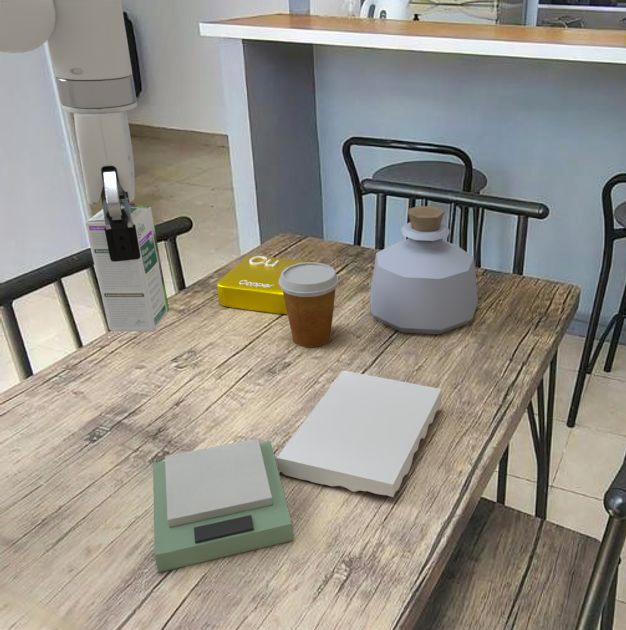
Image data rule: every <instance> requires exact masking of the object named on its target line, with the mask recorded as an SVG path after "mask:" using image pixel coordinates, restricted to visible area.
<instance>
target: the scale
mask: <svg viewBox="0 0 626 630" xmlns="http://www.w3.org/2000/svg"><path fill="white" fill-rule="evenodd" d="M152 483H153V484H152V487H153V488H152V489H153V493H152V494H153V546H154V547H153V550H154V551H153V552H154V559H155V560H154V561H155V564H156V568H157V573H162V572H166V571H170V570H175V569H178V568H182V567H187V566H192V565H195V564H196V565H197V564H199V563H200V564H201V563H204V562H209V561H212V560H217V559H222V558H225V557H229V556H234V555H237V554H242V553H246V552H250V551H255V550H259V549H263V548H267V547H271V546H275V545H281V544H284V543H288V542H293V541H294V530H293V522H292V519H291V515H290V511H289V507H288V503H287V498H286V495H285V492H284V487H283V483H282V480H281V475H280V471H279V470H278V464H277V459H276V457H275V453H274V449H273V445H272V441H271V440H267V441H263V442H260V439H259V438H254V439H249V440H243V441H237V442H232V443H227V444H222V445H217V446H211V447H207V448H206V447H205V448H201V449H196V450H191V451H184V452H179V453H173V454H169V455H165V456H164V460H161V461H158V462H153V463H152Z"/></svg>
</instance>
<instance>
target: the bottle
mask: <svg viewBox="0 0 626 630" xmlns="http://www.w3.org/2000/svg"><path fill="white" fill-rule="evenodd" d="M445 212H446V210H443V209H441V208H439V207H436V206H434V205H433V206H432V205H430V206H428V205H421V206H420V205H416V206H413V207H410V208H408V211H407V216H408V218H409V222H407V223H405V224H404V225H403V226H402V227H401V228H400V230H401V236H402V237H406V238H407V239H403V240H400V241H397V242H395V243H392V244H390V245H389V246H387V247H385V248H383V249H381V250H379V251H377V252H375V258H374V265H373V272H372V276H371V277H372V278H371V284H370V289H369V290H370V291H369V295H368V296H369V304H370V311H371V315H372V316H373V318H375V319H376V320H377V321H378V322H379V323H382V324H384V325H385V326H388V327H390V328H392V329H394V330H396V331H398V332H400V333H402V334H421V335H441V334H444V333H447V332H449V331H452V330H455V329H457V328H460V327H463V326H466V325H467V324H469V322H471V321H472V320H473V317H474V315H475V312H476V309H477V306H478V304H479V296H478V286H477V285H478V284H477V275H476V265H475V256H473V255H471V253H469V252H467V251H465V249H463V248H462V247H460V246H459V245H457V244H454V243H451V242H450V241H446V240H444V239H446V238H448V237H449V235H450V233H451V230H450V229H449V227H448V226H447V225H445V224H444V223H442V221H443V218H444V215H445Z"/></svg>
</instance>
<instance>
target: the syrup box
mask: <svg viewBox="0 0 626 630" xmlns="http://www.w3.org/2000/svg"><path fill="white" fill-rule="evenodd" d="M121 209H124V210H125V206H121ZM130 210H131V217H132V224H133V225H135V226H136V232H137V238H138V244H139V249H140V258H139V259H136V260H126V261H117V262H113V261H111V259H110V255H109V250H108V245H107V239H106V234H105V229H104V228H105V227H106V225H105V219H104V212H103V208H102V209H101V210H99V211H98V212H97V213H95V214H93V215H92V216H91V217H90V218H89V219H87V220H86V221H84V225H85V229H86V234H87V239H88V244H89V247H90V252H91V257H92V261H93V265H94V270H95V273H96V278H97V282H98V287H99V291H100V295H101V300H102V304H103V305H102V306H103V310H104V313H105V319H106V323H107V326H108V329H109V331H112V332H130V333H133V332H134V333H135V332H137V333H138V332H139V333H140V332H141V333H142V332H143V333H145V332H146V333H149V332H150V333H151V332H152V333H154V332H156V330H157V329H158V327H159V325H160V324H161V323H162V321H163V320H164V318H165V317H166V316H167V314H168V313H169V311H170V307H169V301H168V295H167V290H166V284H165V278H164V273H163V268H162V261H161V256H160V251H159V244H158V240H157V234H156V227H155V223H154V218H153V217H154V216H153V212H152V207H151V206H149V205H140V204H135V205H130Z"/></svg>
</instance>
